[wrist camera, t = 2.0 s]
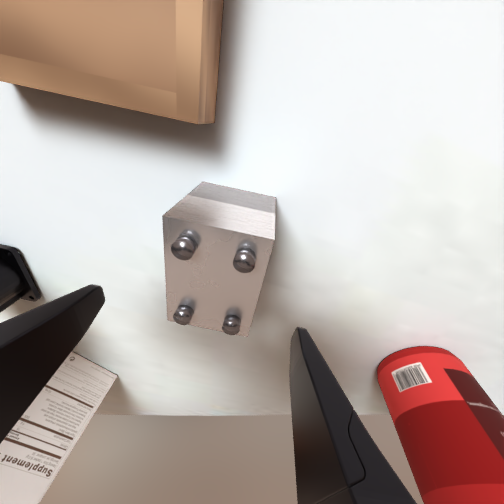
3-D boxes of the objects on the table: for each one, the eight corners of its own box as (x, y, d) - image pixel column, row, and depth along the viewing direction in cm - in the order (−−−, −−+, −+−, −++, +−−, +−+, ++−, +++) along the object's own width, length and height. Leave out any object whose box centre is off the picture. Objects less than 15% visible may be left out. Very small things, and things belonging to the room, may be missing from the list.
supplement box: (93, 391, 34) (-17, 552, 21) (36, 363, 31) (-130, 533, 18) (120, 375, 30) (7, 560, 18) (59, 342, 27) (-131, 538, 14)
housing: (255, 275, 18) (246, 345, 13) (198, 263, 18) (163, 328, 12) (275, 197, 14) (274, 246, 9) (203, 181, 14) (155, 221, 9)
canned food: (365, 382, 25) (417, 540, 16) (389, 339, 20) (482, 522, 11) (435, 390, 24) (532, 559, 15) (475, 347, 20) (647, 548, 11)
